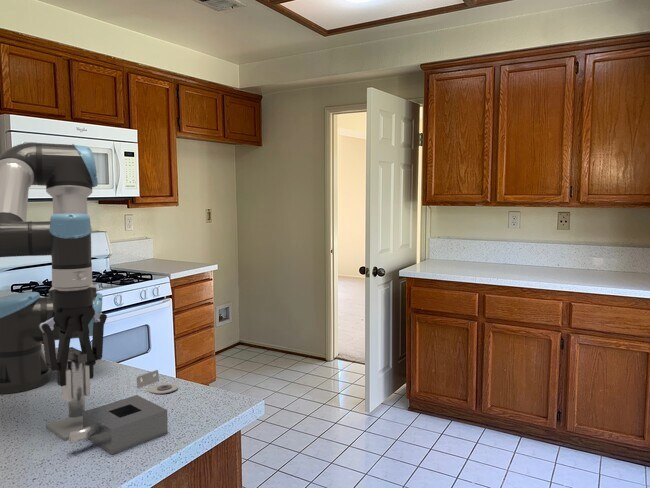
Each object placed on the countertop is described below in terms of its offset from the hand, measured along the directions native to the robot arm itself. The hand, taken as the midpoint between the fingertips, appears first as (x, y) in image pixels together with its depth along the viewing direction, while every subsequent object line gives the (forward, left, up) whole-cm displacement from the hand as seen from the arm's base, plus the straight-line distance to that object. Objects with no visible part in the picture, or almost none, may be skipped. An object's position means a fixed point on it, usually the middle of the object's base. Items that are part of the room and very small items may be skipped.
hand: (76, 396), depth 107 cm
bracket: (-7, +24, -7) cm, 26 cm away
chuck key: (0, 0, -4) cm, 4 cm away
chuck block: (+11, +3, -7) cm, 13 cm away
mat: (0, 0, -7) cm, 7 cm away
